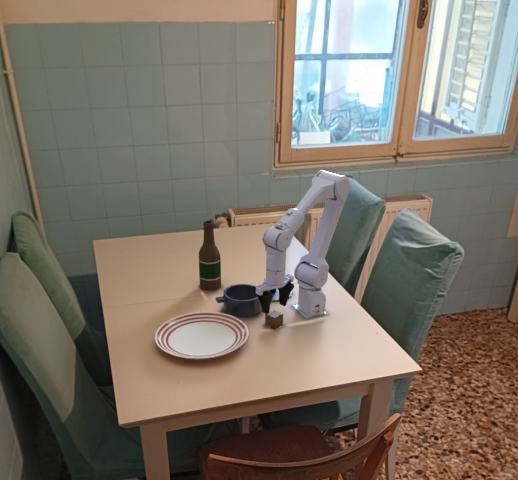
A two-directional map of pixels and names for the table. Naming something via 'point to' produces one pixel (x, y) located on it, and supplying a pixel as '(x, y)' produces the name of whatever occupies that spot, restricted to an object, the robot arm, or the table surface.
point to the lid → (276, 294)
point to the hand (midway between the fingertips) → (274, 308)
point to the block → (274, 319)
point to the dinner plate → (201, 335)
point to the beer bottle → (209, 260)
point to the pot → (240, 301)
